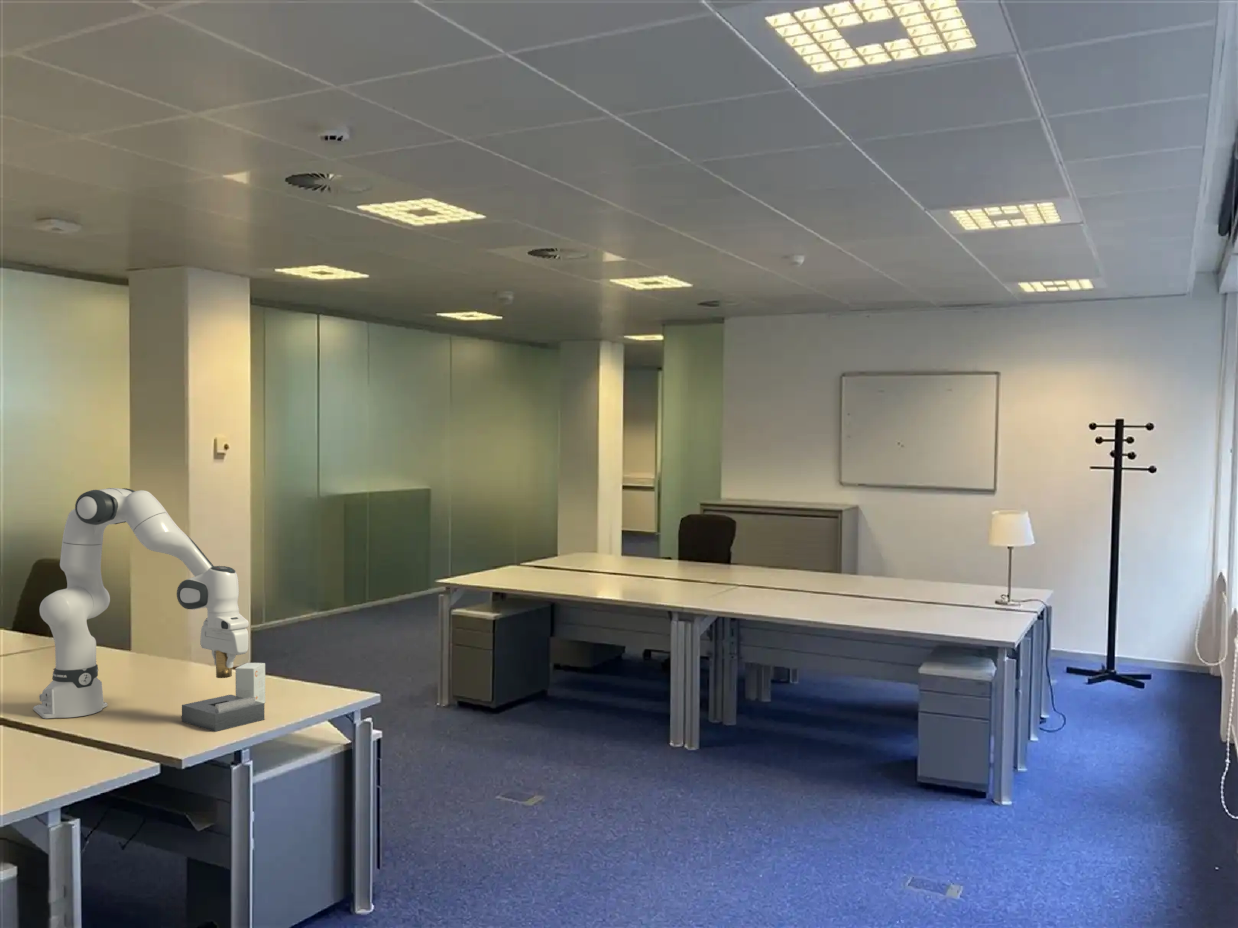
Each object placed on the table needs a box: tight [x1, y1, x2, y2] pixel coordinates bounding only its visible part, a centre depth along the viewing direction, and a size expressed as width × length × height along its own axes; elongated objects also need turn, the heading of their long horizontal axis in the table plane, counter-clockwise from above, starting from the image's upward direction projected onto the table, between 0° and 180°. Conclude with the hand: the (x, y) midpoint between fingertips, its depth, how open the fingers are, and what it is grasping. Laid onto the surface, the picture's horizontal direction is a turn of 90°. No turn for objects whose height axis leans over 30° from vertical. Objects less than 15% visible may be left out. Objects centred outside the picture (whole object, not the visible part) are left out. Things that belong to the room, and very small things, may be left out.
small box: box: [234, 662, 266, 704], centre depth 310 cm, size 8×6×13 cm
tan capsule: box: [215, 651, 233, 679], centre depth 293 cm, size 4×4×8 cm
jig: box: [181, 694, 265, 733], centre depth 293 cm, size 18×16×7 cm
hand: (223, 666), depth 293 cm, fingers closed on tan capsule, 4 cm apart
